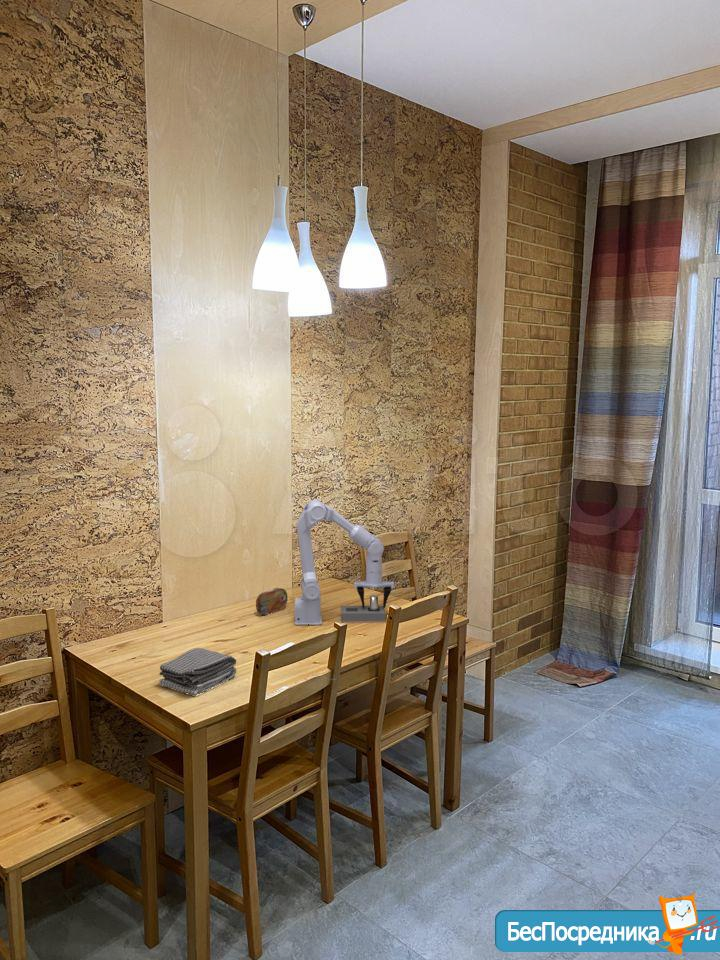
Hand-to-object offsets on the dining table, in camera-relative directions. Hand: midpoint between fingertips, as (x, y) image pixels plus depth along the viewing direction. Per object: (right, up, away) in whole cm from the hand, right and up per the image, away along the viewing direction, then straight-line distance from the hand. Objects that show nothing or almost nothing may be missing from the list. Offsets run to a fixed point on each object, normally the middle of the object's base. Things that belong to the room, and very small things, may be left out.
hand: (373, 607), depth 276 cm
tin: (-38, -3, +8) cm, 39 cm away
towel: (-52, -13, -56) cm, 78 cm away
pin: (0, -4, 0) cm, 4 cm away
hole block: (-4, -4, 0) cm, 6 cm away
